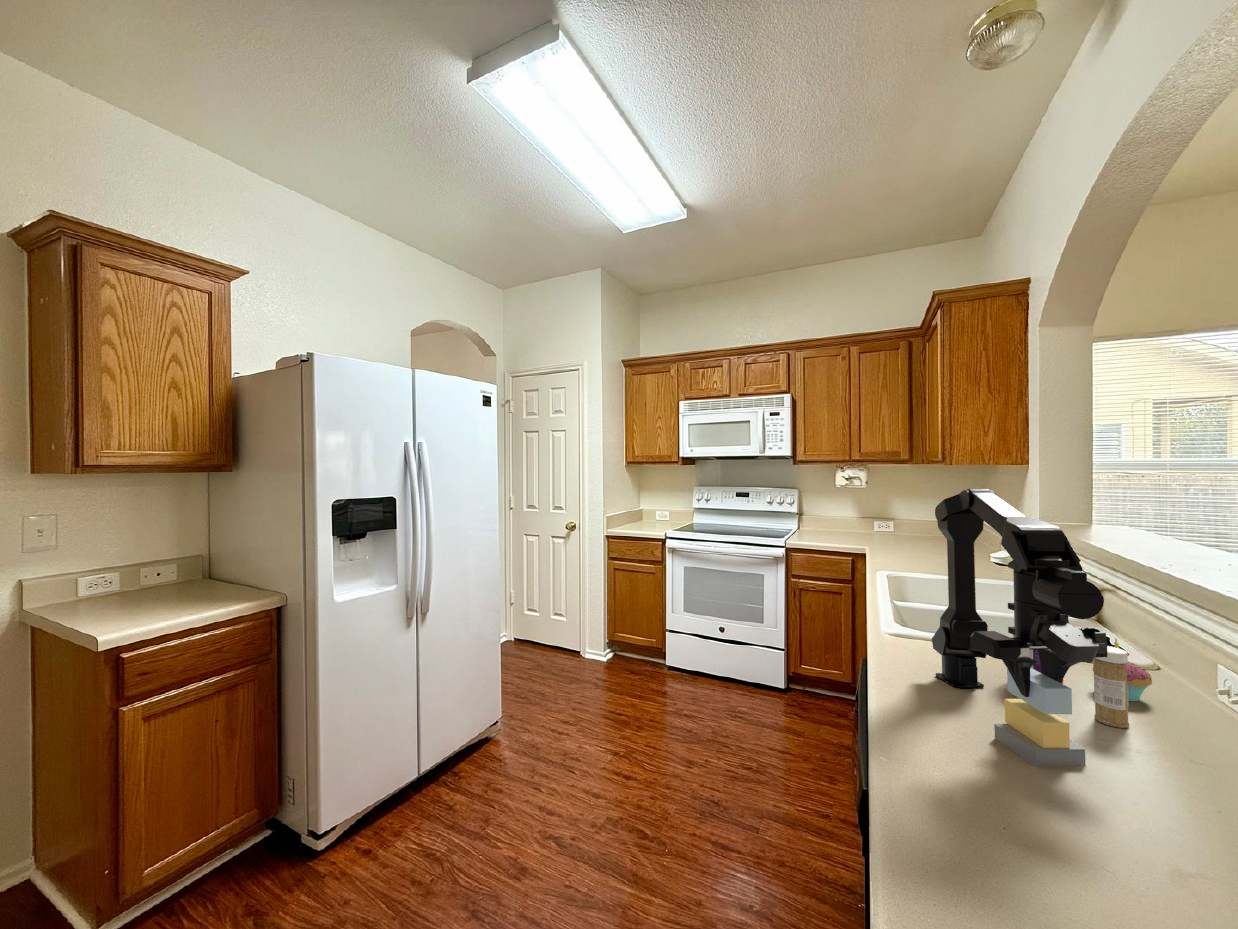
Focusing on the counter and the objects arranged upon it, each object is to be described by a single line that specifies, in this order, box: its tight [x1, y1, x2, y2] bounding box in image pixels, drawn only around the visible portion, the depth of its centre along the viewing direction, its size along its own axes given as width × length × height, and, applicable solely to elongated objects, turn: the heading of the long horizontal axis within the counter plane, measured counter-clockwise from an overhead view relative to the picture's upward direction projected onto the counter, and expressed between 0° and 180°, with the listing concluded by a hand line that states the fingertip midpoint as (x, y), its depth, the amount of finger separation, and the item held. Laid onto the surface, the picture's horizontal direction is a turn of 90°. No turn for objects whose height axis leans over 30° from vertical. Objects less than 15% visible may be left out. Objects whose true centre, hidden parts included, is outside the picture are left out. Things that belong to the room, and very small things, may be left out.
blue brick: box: [1006, 668, 1073, 715], centre depth 80 cm, size 8×4×4 cm, turn 177°
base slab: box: [994, 723, 1086, 768], centre depth 80 cm, size 8×8×3 cm
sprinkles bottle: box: [1093, 645, 1130, 729], centre depth 89 cm, size 5×5×14 cm
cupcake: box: [1092, 638, 1153, 702], centre depth 100 cm, size 9×8×12 cm
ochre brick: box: [1004, 698, 1071, 748], centre depth 81 cm, size 8×4×4 cm, turn 178°
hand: (1037, 695), depth 81 cm, fingers closed on blue brick, 4 cm apart
